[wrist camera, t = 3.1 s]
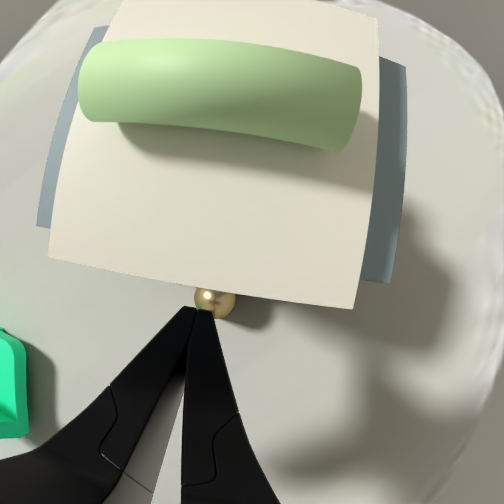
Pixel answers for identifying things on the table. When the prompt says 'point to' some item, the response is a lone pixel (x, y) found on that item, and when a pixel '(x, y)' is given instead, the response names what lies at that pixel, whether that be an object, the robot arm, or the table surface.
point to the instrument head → (232, 150)
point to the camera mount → (12, 388)
